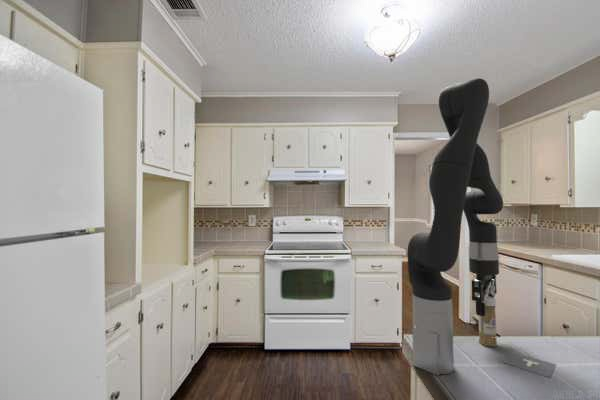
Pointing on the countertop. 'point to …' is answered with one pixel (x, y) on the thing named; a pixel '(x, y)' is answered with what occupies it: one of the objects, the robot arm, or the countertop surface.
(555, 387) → the countertop surface
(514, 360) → the letter card
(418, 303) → the robot arm
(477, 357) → the countertop surface
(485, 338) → the sprinkles bottle
